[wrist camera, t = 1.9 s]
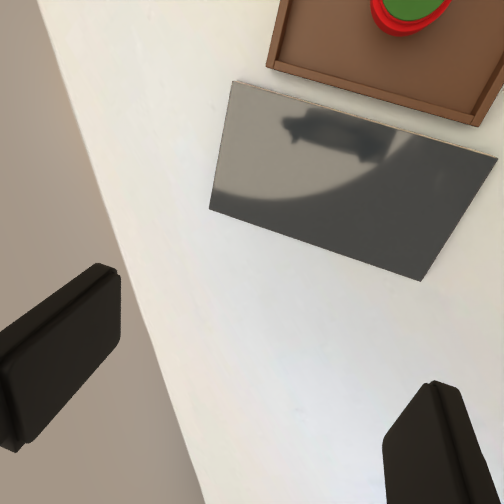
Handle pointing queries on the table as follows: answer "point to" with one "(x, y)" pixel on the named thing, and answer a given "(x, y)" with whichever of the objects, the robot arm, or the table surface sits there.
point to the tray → (397, 54)
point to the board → (342, 180)
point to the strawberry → (406, 15)
